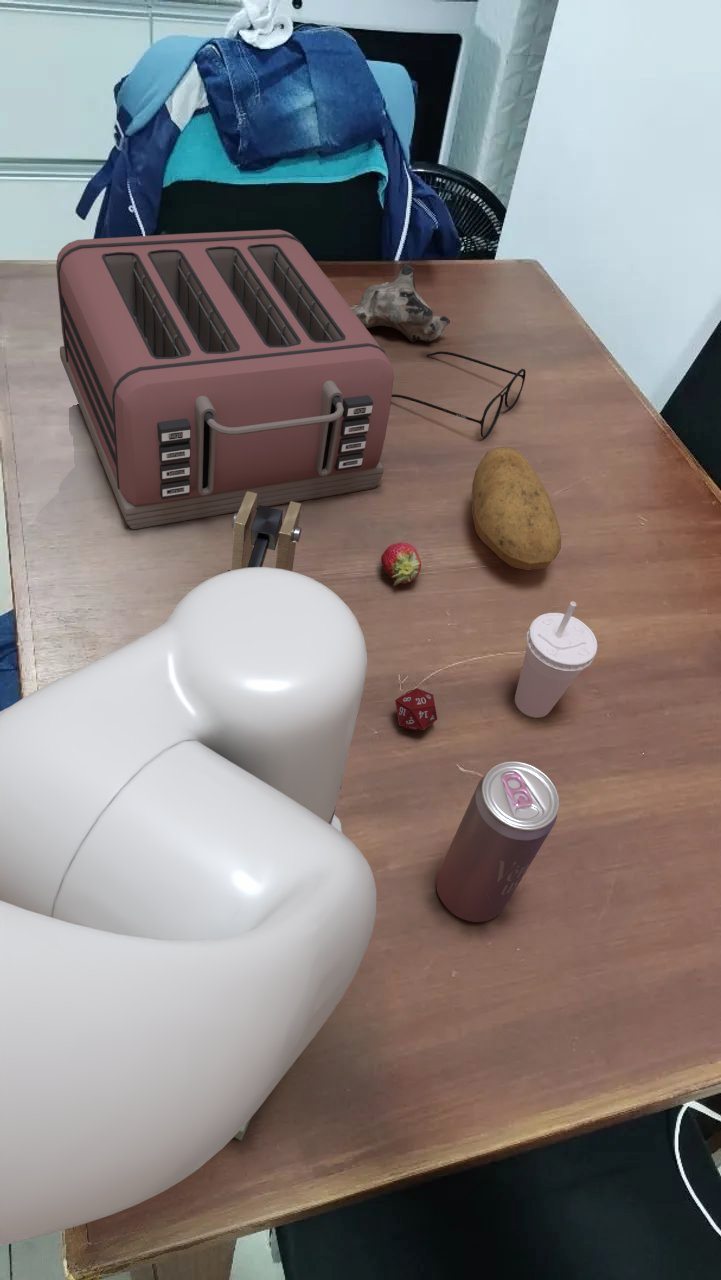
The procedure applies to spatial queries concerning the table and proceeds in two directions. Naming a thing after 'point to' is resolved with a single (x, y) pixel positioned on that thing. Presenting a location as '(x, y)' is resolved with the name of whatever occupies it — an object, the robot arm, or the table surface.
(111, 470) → the toaster
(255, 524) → the lever
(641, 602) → the table surface
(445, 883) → the beverage can
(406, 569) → the fruit
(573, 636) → the smoothie
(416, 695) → the dice
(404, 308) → the decorative stone
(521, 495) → the potato
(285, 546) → the bracket
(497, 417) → the glasses
